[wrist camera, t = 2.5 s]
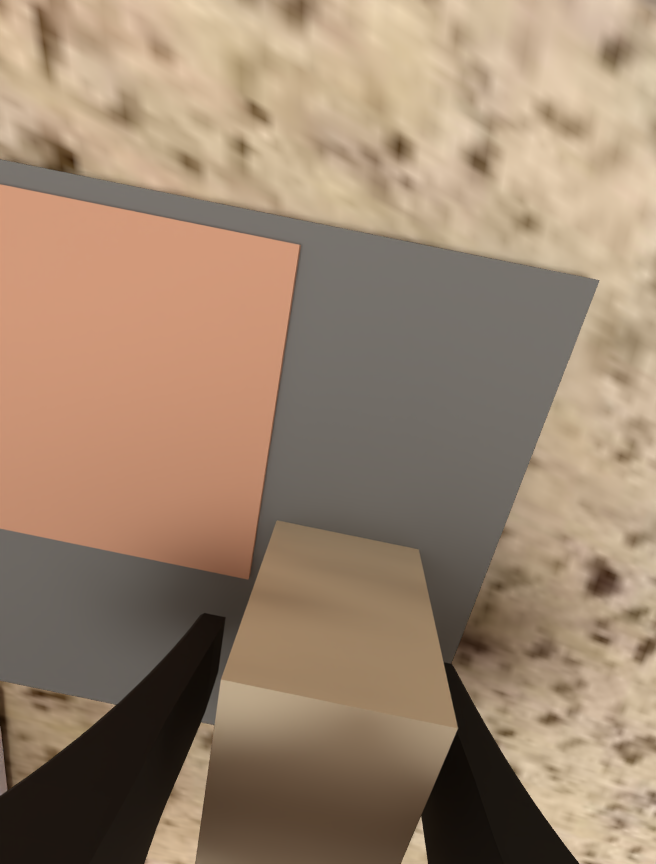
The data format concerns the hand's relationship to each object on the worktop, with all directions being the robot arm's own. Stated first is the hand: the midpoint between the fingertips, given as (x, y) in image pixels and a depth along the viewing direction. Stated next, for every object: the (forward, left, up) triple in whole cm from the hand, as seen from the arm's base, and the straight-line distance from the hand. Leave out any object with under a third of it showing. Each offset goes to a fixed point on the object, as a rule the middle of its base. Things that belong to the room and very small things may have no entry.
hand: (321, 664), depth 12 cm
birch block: (0, 0, -1) cm, 1 cm away
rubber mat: (+3, +4, -2) cm, 5 cm away
